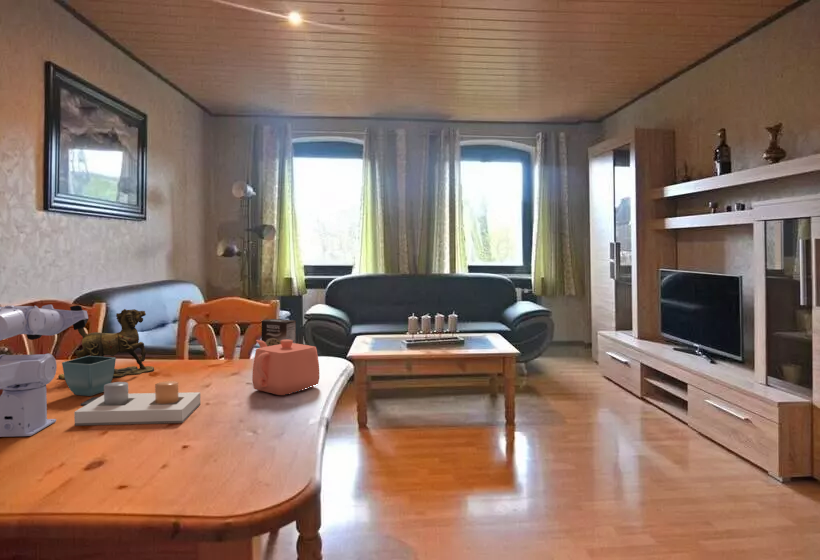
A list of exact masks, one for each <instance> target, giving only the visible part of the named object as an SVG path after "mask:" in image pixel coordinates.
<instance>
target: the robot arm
mask: <svg viewBox="0 0 820 560" xmlns="http://www.w3.org/2000/svg"><path fill="white" fill-rule="evenodd" d="M69 309H70V310H68V309H66V310H65V309H58V308H57V309H56V308H54V306H53V304H45V305H42V306H41V307H40V308H39V306H37V305H34V306H33V305H23V306H22V305H13V304H11V305H8V304H7V305H5V306H4V305H3V306H0V341H2V340H5V339H10V338H12V337H16V336H18V335H26V338H27V339H28V340H29V341H32V340H36V339H37V340H38V339H40V338H41V337H43V336H55V335H58V334H60V333H61V332H63V331H65V330H67V329H68V328H70V327H73V330H74V331H78V329H81V328H84V329H85V327H86V325H85V324H87V323H88V321H87V319H88V320H89V318H88V317H89V314H88V310H84V309H83V308H82V306H81V305H80V304H79V305H78V304H77V305H73V306H72V305H71V306H69ZM82 309H83V310H82ZM57 366H58V365H57V360H56V358H55V357H54V355H53V354H51V353H48V352H47V353H45V354H44V353H43V354H0V390H2V393H1V394H0V438H2V437H4V438H5V437H31V436H33V435H36V434H37V433H38V432H40V431H42V430H44V429H45V428H47V427H48V426H50V425H52V424H54V423H56V422H57V418H48V412H47V411H48V408H47V407H48V406H47V385H48V384H50V383H51V382H52V381H53V380H54V378H55V376H56V374H57Z"/></svg>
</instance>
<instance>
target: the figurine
mask: <svg viewBox="0 0 820 560" xmlns="http://www.w3.org/2000/svg"><path fill="white" fill-rule="evenodd" d="M82 310H84V309H83V308H82ZM115 314H116V315H115V317H116V320H117V322H118V324H120V327H121V329H120V331H118V332H115V333H107V332H106V333H105V332H97V331H96V332H90V333H86V331H85V327H84V328H81V329H77V331H78V334H79V335H80V336H81V337H82V341H81V346H82V349H81V350H75V351H74V354H75V355H76V356H77V359H78V358H82V357H86V356H99V357H105V356H110V357H114V356H116V355H117V354H118V353H120V354H124V353H125V354H126V353H127V354H129V355H130V356H132V357H133V358H134V360H135V362H136V364H137V365H138V366H139V368H138V366H136V365H132V366H127V367H122V368H115V369H114V375H113V379H119V378H122V377H125V376H137V375H141V374H146V373H152V372H154V371H155V367H154V366H151V365H150V366H149V365H146V366H145V365H144V364H143V363H144V362H145V359H146V355H147V351H146V348H145V343H144V342H143V341H140V336H139V332H138V330H137V327H136V326H137V325H138V323H140V324H141V323H142V322H143V321H144V318H143V317H145V316H146V315H147V314H146V311H145V310H138V309H127V308H124V309H122V310H121V311H120V312H117V313H115ZM88 321H89V316H88V319H87V322H88ZM86 324H87V323H86ZM86 324H85V326H86ZM137 349H140V350H141V351H140V352H141V353H140V358H139V356H138V354H137V353H136V350H137ZM58 379H59V380H65V377H64V373H63V374H62V373H61V374H58Z"/></svg>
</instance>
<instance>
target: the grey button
mask: <svg viewBox="0 0 820 560" xmlns="http://www.w3.org/2000/svg"><path fill="white" fill-rule="evenodd" d="M128 394H129V382H125V381H116V382H111V383H108V384H105V385H104V392H103V395H104V404H106V405H117V404H123V403H126V402H128Z"/></svg>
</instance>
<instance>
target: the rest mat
mask: <svg viewBox="0 0 820 560" xmlns="http://www.w3.org/2000/svg"><path fill="white" fill-rule="evenodd" d="M99 397H100V396H91V397H90V398H89V399H87V400H85V401H83V402H82V403H80V406H82V407H83V406H85V405H87V404H89V403H90V402H92V401H94V400H96V399H97V398H99Z"/></svg>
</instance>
